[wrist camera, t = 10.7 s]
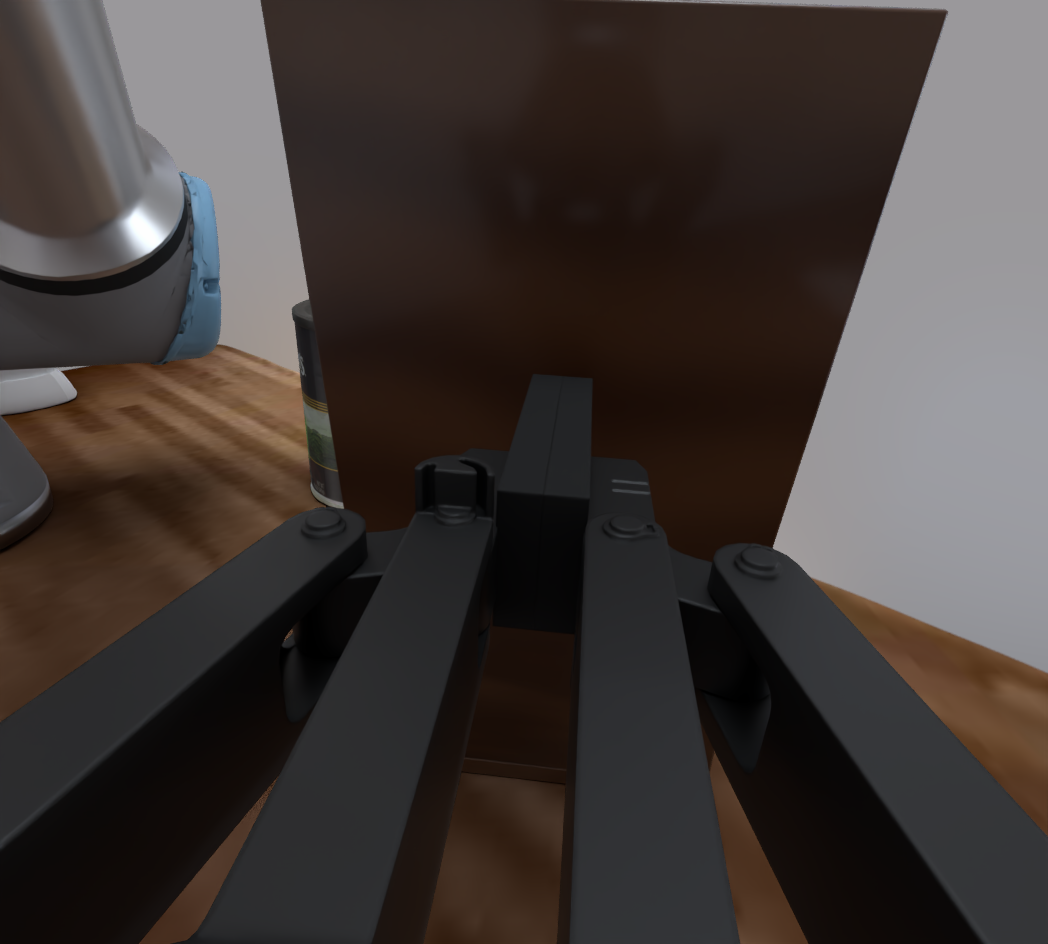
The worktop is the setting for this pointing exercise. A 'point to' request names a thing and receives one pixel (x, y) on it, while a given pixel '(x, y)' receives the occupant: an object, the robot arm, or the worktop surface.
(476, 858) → the worktop surface
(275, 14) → the lid
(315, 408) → the coffee can
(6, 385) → the soap bottle
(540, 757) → the chest
